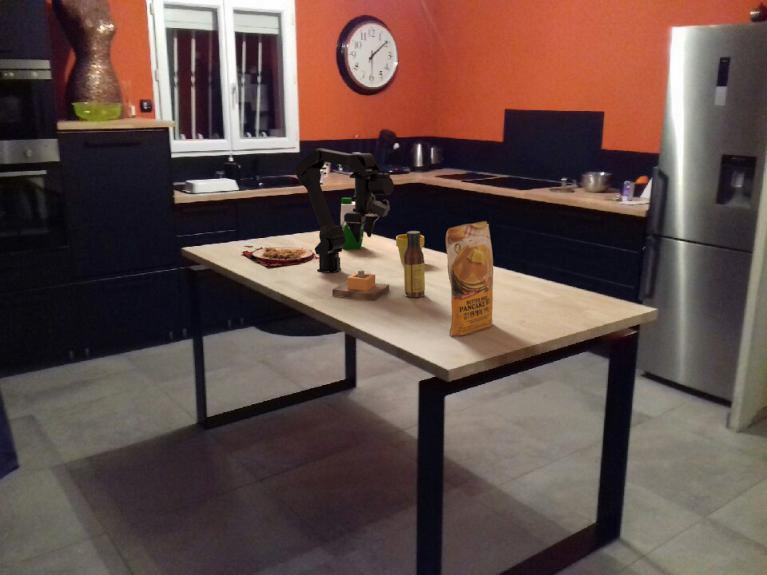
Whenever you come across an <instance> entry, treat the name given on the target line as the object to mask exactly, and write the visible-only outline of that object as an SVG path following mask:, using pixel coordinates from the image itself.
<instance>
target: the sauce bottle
mask: <svg viewBox="0 0 767 575" xmlns="http://www.w3.org/2000/svg"><path fill="white" fill-rule="evenodd" d="M406 234H407V238H408V244H407V249H406V251H405V253H404V264H403V273H404V275H403V276H404V278H403V279H404V281H403V282H404V283H403V284H404V294H405V296H406V297H407V298H417V299H418V298H421V297H424V296H425V292H426V291H425V290H426V282H425V280H426V278H425V274H426V273H425V270H426V269H425V256H424V253H423V250H421V248H420V235H421V232H420V231H417V230H410V231H407V232H406Z"/></svg>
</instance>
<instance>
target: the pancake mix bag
mask: <svg viewBox="0 0 767 575" xmlns="http://www.w3.org/2000/svg"><path fill="white" fill-rule="evenodd" d="M492 247H493V246H492V240H491V232H490V224H489V223H488V221H487V220H484V221H483V220H482V221H478V222H474V223H464V224H461V225H457V226H452V227H449V228H448V229H447V231H446V233H445V249H446V255H447V256H446V257H447V274H448V279H449V283H450V289H451V290H450V293H451V295H450V297H451V298H450V299H451V301H450V303H451V325H450V329H449V336H450V337H451V336H452V337H453V336H460V337H462V336H467V335H470V334H474V333H477V332H480V331H484V330H486V329H489V328H491V327H492V326H493V303H494V302H493V301H494V299H493V298H494V297H493V296H494V292H493V290H494V256H493V248H492Z"/></svg>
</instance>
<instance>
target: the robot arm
mask: <svg viewBox="0 0 767 575" xmlns="http://www.w3.org/2000/svg"><path fill="white" fill-rule="evenodd" d="M326 163H330V164H334V165H340V166H344V167H347V168H348V169H349V170H351V171H353V172H352V173H351V174H350V175H349V178H350V179H354V195H353V196H352V200H354V202H355V208H353V212H348V213H346V214H345V215H344V222H346V224H348V226H349V228H350V230H351V232H352V234H353V236H354V238H355V240H356V242H360V238H361V230H362V226H363V225H364V230H365V234H366V236H367V237H368V238H372V234H373V231H374V227H375V223H376V221H377V220H379V219H380V218H384V217H386V216H387V217H388V213H389V211H390V210H391V208H390V207H391V206H390V201H389V200H387V199H383V200H382V201H380V200H376V196H375V195H383V196H390V195H392V193H393V191H394V187H395V183H394V181H393V179H392V178H391V174H390V173H387V172H386V173H382V170H381V169H380V166H379V165H378V163H377V161H376V159H375V157H374V155H373V154H372V153H370V152H367V153H366V152H364V153H348V152H344V151H343V152H342V151H337V150H333V149H327V148H325V147H324V148H315V149H314V150H313V151H312V152H311V153H310V154H308V155H307V156H306V157H304V158H303V159H302V160H300V161H299V162H297V163H296V164H295V167H294V173H295V176H296V178H297V180H298V181H299V183H300V184H301V185H302V186H303V187H304V188H305V190H306V191H307V194H308V197H309V200H310V202H311V205H312V208H313V211H314V214H315V216H316V219H317V222H318V224H319V227H320V228H319V234H318V237H319V242H318V244H317V245H316V246H315V247H314V251H315V254H316V255H317V256H318V255H319V256H318V257H319V259H318V266H319V268H318V269H316V271H317V272H322V273H323V272H324V273H332V274H333V273H336V272H337V271H339V270H341V269H342V267H341V257H340V253H342V251H343V250H344V249H343V246H344V244H345V237H346V235H345V234H344V232H343V228H342V226H341V225H337V224H336V223H335V222H334V219H333V217H332V214H331V211H330V208H329V205H328V203H327V200H326V197H325V193H324V192H323V189H322V186H321V179H322V173H321V170H322V169H323V168H324V167H325V164H326Z"/></svg>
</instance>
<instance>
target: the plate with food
mask: <svg viewBox="0 0 767 575" xmlns="http://www.w3.org/2000/svg"><path fill="white" fill-rule="evenodd" d="M243 247H244V248H245V247H246V248H249V249H251V248H254V246H253V245H243ZM241 253H242V255H246V258H250V259H252V260H253V261H255V259H254V258H253V257H255V258H256V263H259V264H260V265H262V266H265V267H266V266H267V267H277V266H281V267H283V266H286V265H287V266H289V265H290V266H291V265H300V264H305V263H306V262H308V261H309V262H311V261H314V260H319V255H318V254H316V253H314V252H313V250H312V249H307V248H303V247H291V246H289V247H288V246H281V247H280V246H279V247H278V246H276V247H271V246H269V247H266V246H265V247H262V246H261V247H259V248H255V249H254V250H252V251H249V250H243V251H241ZM314 262H317V261H314Z"/></svg>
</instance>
